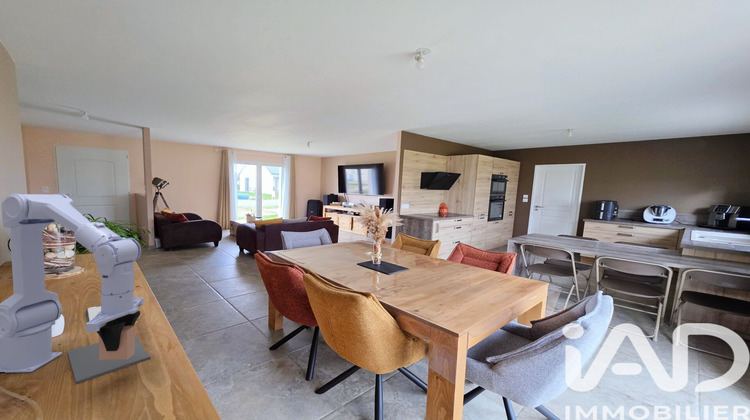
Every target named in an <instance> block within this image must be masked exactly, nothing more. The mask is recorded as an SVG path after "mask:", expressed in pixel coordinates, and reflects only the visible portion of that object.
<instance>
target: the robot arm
mask: <svg viewBox="0 0 750 420" xmlns="http://www.w3.org/2000/svg"><path fill="white" fill-rule="evenodd" d="M1 220H2V227H3V228H6V229H9V236H10V237H9V239H10V253H11V254H10V255H11V269H12V272H11V273H12V285H13V286H12V288H13V294H11V295H10V296H9V297H8V298H6V299H5V300H3V301H2V302H0V372H5V373H33V372H34V371H36V370H38V369H39V368H41V367H43V366H44V365H46V364H48V363H49V362H51V361H53V360H54V359H56V358H58V357H59V356H61V355H63V352H62V351H53V349H52V348H53V347H52V346H53V344H52V343H53V341H52V339H53V337H52V336H53V335H52V333H53V332H52V331H53V328H52V326H54V325H56V321H57V320H59V319H60V318H61V316H62V312H63V307H62V304H61V302H60V299H59V295H58V293H56V292H53V291H49V290H46V275H45V255H44V239H43V238H44V237H43V231H44V230H45V229H46V228H47V227H48V226H49V225H53V224H54V223H58V224H60V225H61V226H63V227H65V228H66V229H68V230H70V231H71V232H73V233H74V240H75V241H76V242H77V243H78V244H80V245H81V246H83V247H84V248H85V249H87V250H88V251H89V252H90V253H92V254H93V261H94V262H95V264H96V266H97V272H98V274H99V275H100V276H101V277H100V280H101V282H100V287H101V288H100V292H101V293H100V305H101V311H100V312H99V313H98V314H97V315H96V316H95V317H94V318H93V319H92V320H91V321H89V322H88V321H87V322H86V323H85V332H86V333H97V334H98V337H99V336H100V337H101V339H102V341H103V343H104V346H105V348H106V351H117V350H118V348H119V344H120V336H121V332H122V329H123V327H124V326H135V325H136V324H135V323H136V322H137V320H138V318H139V317H140V316H141V311H140V310H139V307H142V306H143V305H145V304H144V302H145V301H144V300H145V298H144V297H135V292H134V291H135V262H136V261H138V260H139V259H140V257H141V255H142V249H141V245H140V243H139V242H138V241H137V240H136V239H135V238H134V237H133V238H132V237H130V238H129V237H128V238H127V237H121V236H120V235H118V234H117V233H115V232H114V231H113V230H111V229H110V228H109V227H107V226H106V224H105V223H103V222H98V221H92V222H91V221H90V220H89V219H87V217H86V216H85V215H83V214H82V213H80V211H78V209H76V208H75V202H74V200H73V198H72V199H71V198H70V197H69V196H68V195H67V194H64V193H58V194H57V193H55V194H54V193H53V194H49V193H46V194H45V193H44V194H40V193H38V194H36V193H35V194H32V193H29V194H28V193H26V194H25V193H22V194H21V193H11V194H9V195H8V196H6V198H5V199H4V200H3V201H2V202H1Z"/></svg>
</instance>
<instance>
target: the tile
mask: <svg viewBox="0 0 750 420" xmlns="http://www.w3.org/2000/svg"><path fill="white" fill-rule="evenodd" d="M135 328H136V325H134V326H124V327H123V329H122V332H121V336H120V344H119V348H118V350H117V351H106V348H105V346H104V343H103V341H102V339H101V337H100V336H99V335H98V343H99V360H126V359H128V358H130V357H131V356H132V355H133V354H135V336H136V334H135V333H136V329H135Z"/></svg>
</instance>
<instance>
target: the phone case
mask: <svg viewBox="0 0 750 420" xmlns="http://www.w3.org/2000/svg"><path fill="white" fill-rule="evenodd" d="M100 311H101V304H100V305H94V306H90V307H87V308H86V309H85V316H86V319H87V323H88V322H89V321H91V320H92V319H93V318H94V317H95V316H96V315H97V314H98V313H99V312H100Z"/></svg>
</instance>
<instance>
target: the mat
mask: <svg viewBox="0 0 750 420" xmlns="http://www.w3.org/2000/svg"><path fill="white" fill-rule="evenodd" d="M67 356H68V359H69V364H70V367H71V371H72V373H73V378H74V382H75V385H77V384H81V383H83V382H87V381H88V380H89V381H90V380H92V379H95V378H97V377H100V376H103V375H106V374H109V373H112V372H116V371H119V370H122V369H124V368H127V367H129V366H133V365H136V364H139V363H142V362H145V361H147V360H150V359H151V356H150V354H149V353H148V351H147V350H146V349H145V346H144V345H143V344H142V343H141V341H140V340H139V338H138V337H137V336H136V335H135V354H133V355H132V356H131V357H130V358H128V359H126V360H99V342H95V343H93V344H89V345H85V346H81V347H78V348H74V349H71V350H67ZM80 382H81V383H80Z"/></svg>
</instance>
